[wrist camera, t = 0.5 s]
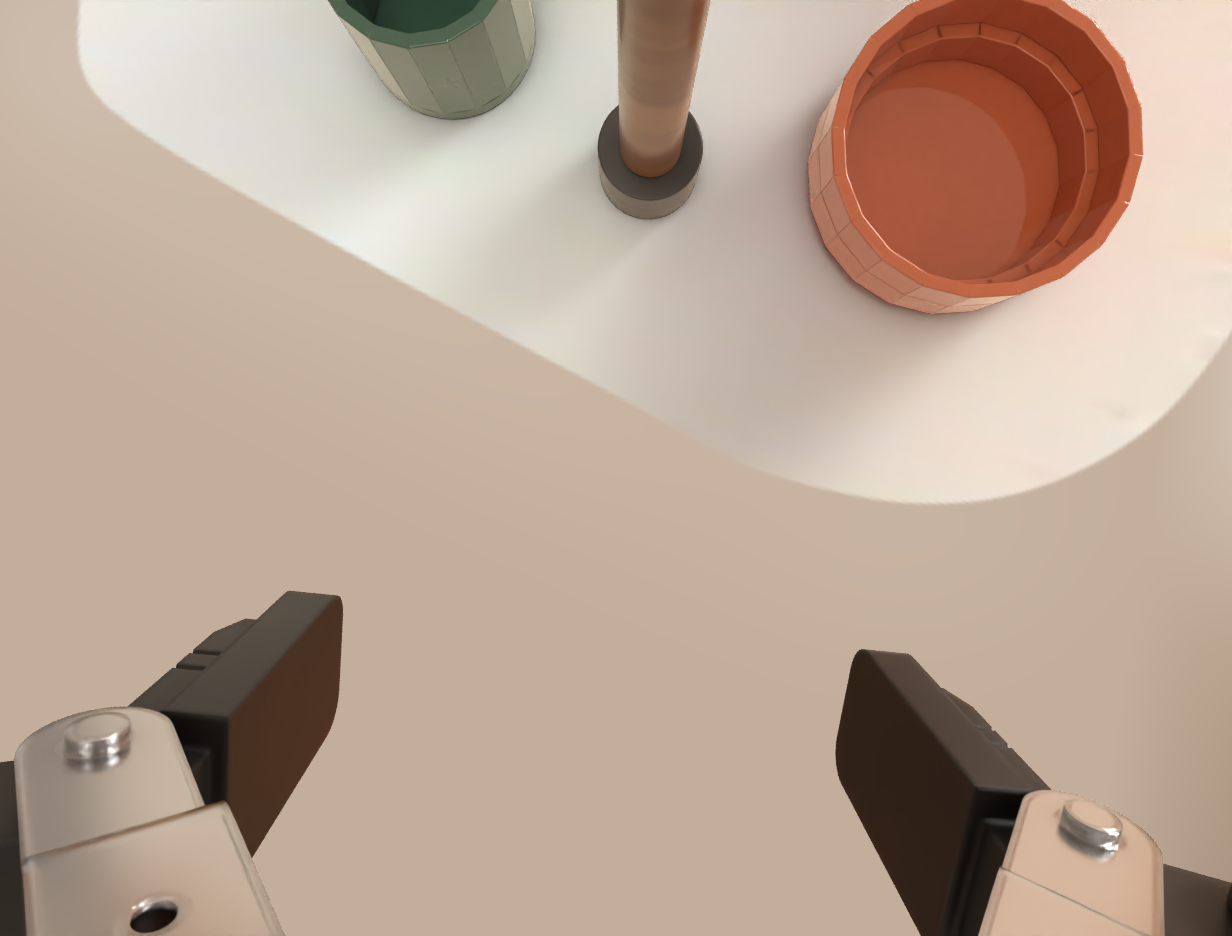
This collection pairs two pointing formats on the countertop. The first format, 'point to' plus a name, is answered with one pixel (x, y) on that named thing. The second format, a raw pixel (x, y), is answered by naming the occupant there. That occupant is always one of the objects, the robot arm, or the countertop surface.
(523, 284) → the countertop surface
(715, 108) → the countertop surface
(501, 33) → the pot
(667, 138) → the brush
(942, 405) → the countertop surface
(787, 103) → the countertop surface
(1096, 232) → the bowl
